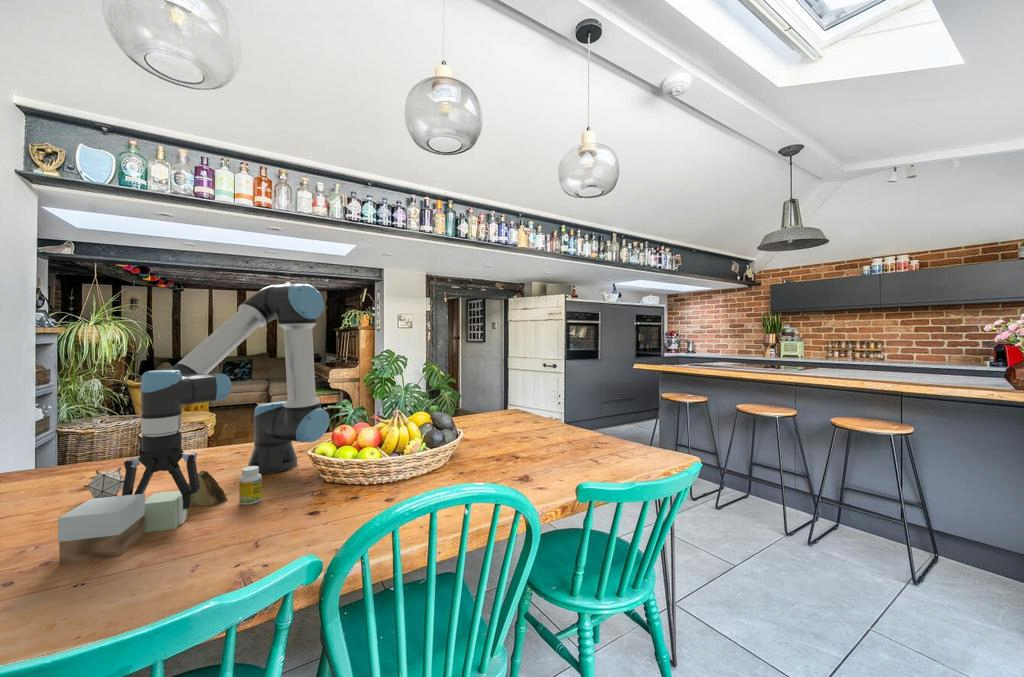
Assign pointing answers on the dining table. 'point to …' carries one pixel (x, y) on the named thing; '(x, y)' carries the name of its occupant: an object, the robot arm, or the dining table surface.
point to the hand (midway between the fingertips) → (162, 524)
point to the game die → (106, 484)
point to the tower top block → (101, 517)
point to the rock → (207, 491)
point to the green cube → (161, 511)
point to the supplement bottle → (250, 486)
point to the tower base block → (100, 545)
